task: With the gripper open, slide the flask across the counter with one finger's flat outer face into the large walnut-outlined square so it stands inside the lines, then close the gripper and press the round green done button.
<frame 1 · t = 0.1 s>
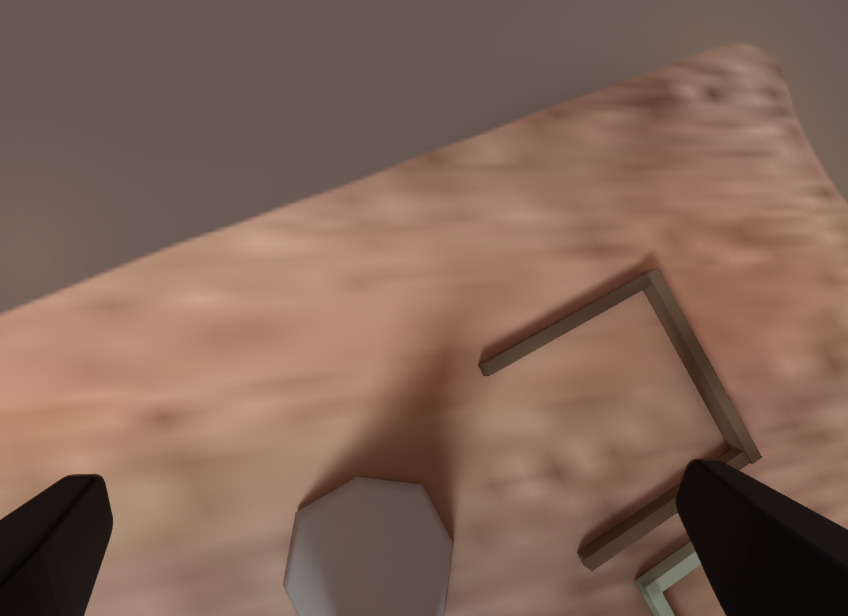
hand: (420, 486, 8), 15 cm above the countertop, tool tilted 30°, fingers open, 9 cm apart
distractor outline: (716, 602, 24), on the countertop
target outline: (613, 412, 24), on the countertop
flask: (370, 559, 22), on the countertop
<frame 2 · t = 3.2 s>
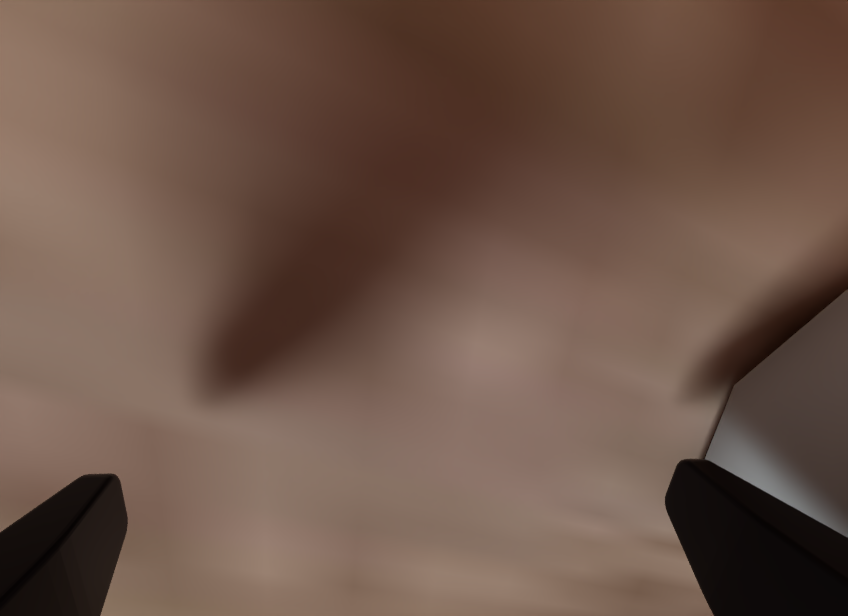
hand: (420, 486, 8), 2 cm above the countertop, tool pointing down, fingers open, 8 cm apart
flask: (842, 417, 11), on the countertop, touching gripper
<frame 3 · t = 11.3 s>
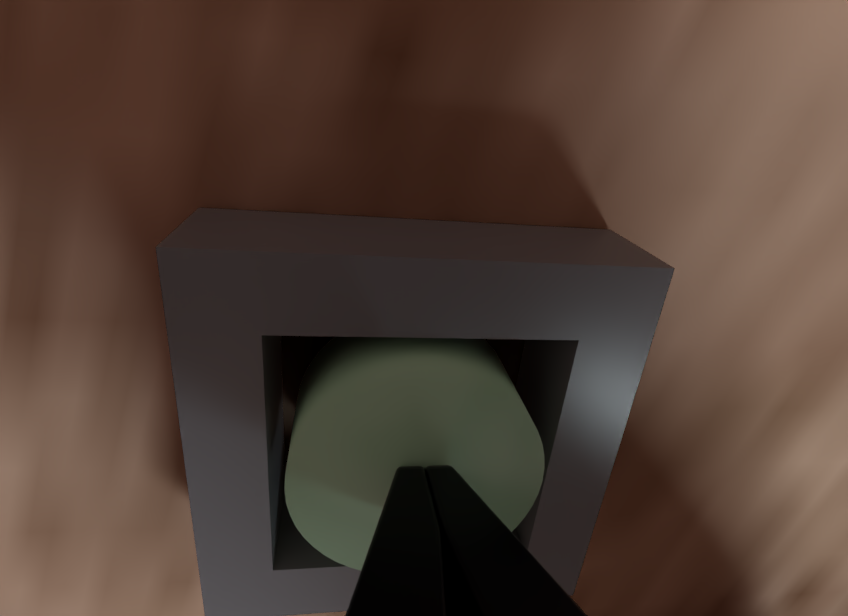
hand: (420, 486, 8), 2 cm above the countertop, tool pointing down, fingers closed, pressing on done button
done button: (411, 442, 9), point 1 cm above the countertop, slide at 1.0 cm, touching gripper
button housing: (403, 393, 10), on the countertop
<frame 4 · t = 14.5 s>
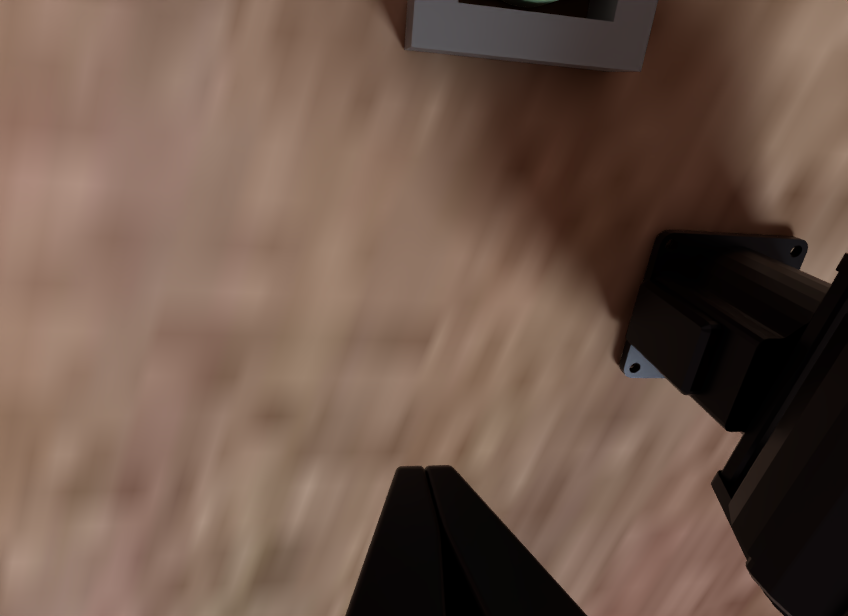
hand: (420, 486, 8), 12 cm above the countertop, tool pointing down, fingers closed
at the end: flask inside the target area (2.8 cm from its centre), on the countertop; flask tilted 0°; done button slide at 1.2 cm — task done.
